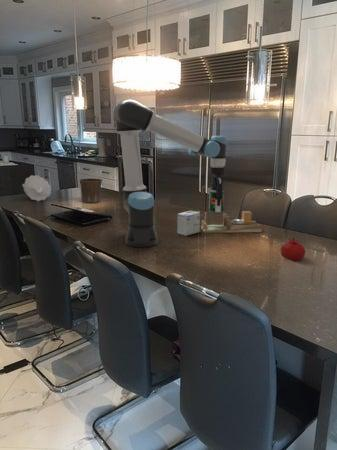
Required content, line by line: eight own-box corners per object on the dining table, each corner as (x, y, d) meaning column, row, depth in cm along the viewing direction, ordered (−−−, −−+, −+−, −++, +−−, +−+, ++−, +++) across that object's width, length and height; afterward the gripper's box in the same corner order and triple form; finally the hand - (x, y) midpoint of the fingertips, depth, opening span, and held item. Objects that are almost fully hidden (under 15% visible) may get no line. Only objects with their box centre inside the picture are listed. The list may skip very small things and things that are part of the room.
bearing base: (261, 231, 197) (262, 217, 194) (204, 232, 193) (205, 217, 191) (255, 226, 206) (256, 212, 204) (201, 227, 203) (201, 213, 201)
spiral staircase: (41, 201, 291) (47, 205, 269) (18, 193, 282) (22, 196, 260) (49, 179, 291) (56, 182, 269) (27, 170, 282) (32, 172, 260)
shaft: (250, 227, 198) (251, 212, 196) (234, 227, 198) (235, 212, 195) (248, 225, 202) (249, 211, 200) (232, 225, 201) (233, 211, 199)
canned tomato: (218, 209, 201) (219, 189, 199) (226, 212, 194) (227, 191, 192) (205, 210, 198) (206, 190, 195) (213, 213, 191) (214, 192, 188)
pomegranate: (291, 264, 151) (293, 242, 148) (275, 256, 160) (276, 235, 157) (310, 260, 155) (312, 239, 152) (293, 252, 163) (295, 232, 161)
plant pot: (92, 198, 281) (91, 177, 277) (107, 201, 272) (106, 179, 268) (75, 202, 268) (74, 179, 264) (90, 204, 259) (89, 181, 255)
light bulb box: (190, 229, 199) (191, 210, 197) (200, 232, 195) (200, 212, 192) (176, 233, 192) (177, 213, 189) (186, 236, 188) (186, 215, 185)
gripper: (230, 168, 181) (228, 214, 187) (220, 164, 201) (218, 205, 206) (215, 168, 180) (213, 214, 186) (206, 164, 200) (205, 206, 206)
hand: (216, 209), depth 196 cm, fingers closed on canned tomato, 8 cm apart
